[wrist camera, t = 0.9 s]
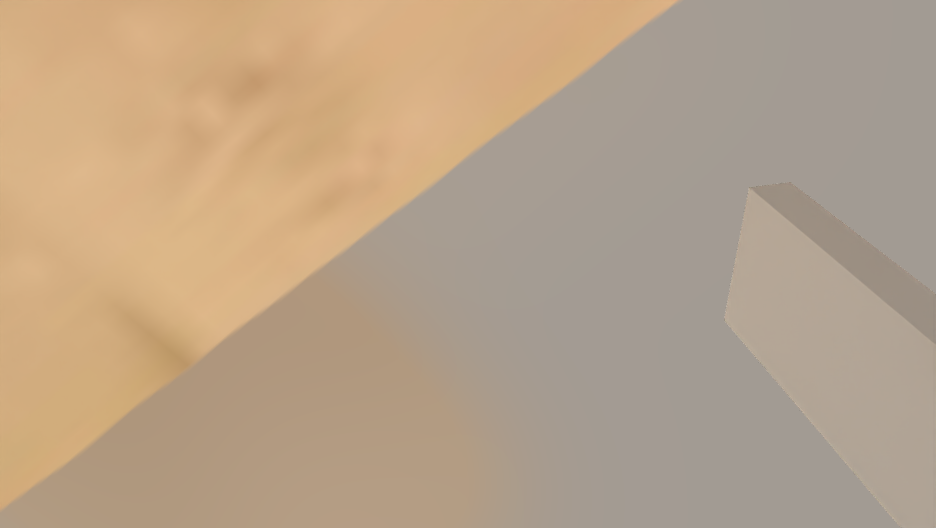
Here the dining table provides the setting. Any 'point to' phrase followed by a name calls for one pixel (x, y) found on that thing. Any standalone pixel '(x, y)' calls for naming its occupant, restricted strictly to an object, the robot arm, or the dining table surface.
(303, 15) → the dining table surface
